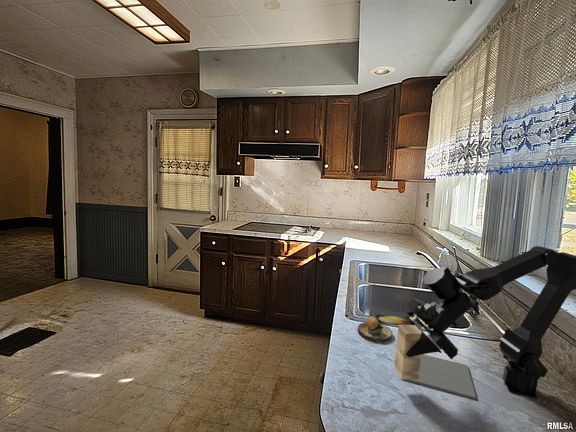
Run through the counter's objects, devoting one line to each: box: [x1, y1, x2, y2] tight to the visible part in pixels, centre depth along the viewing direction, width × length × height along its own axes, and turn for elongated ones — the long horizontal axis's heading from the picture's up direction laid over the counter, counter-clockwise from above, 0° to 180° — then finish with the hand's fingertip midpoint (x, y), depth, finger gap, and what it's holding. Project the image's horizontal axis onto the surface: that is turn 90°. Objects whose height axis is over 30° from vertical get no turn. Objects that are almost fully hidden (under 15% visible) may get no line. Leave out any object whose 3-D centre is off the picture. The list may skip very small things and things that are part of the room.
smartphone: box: [373, 313, 408, 326], centre depth 121 cm, size 7×1×15 cm
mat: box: [401, 354, 477, 400], centre depth 90 cm, size 18×15×1 cm
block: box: [393, 325, 422, 380], centre depth 81 cm, size 4×4×12 cm
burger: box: [357, 316, 393, 343], centre depth 110 cm, size 12×12×8 cm
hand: (403, 350), depth 81 cm, fingers closed on block, 4 cm apart
